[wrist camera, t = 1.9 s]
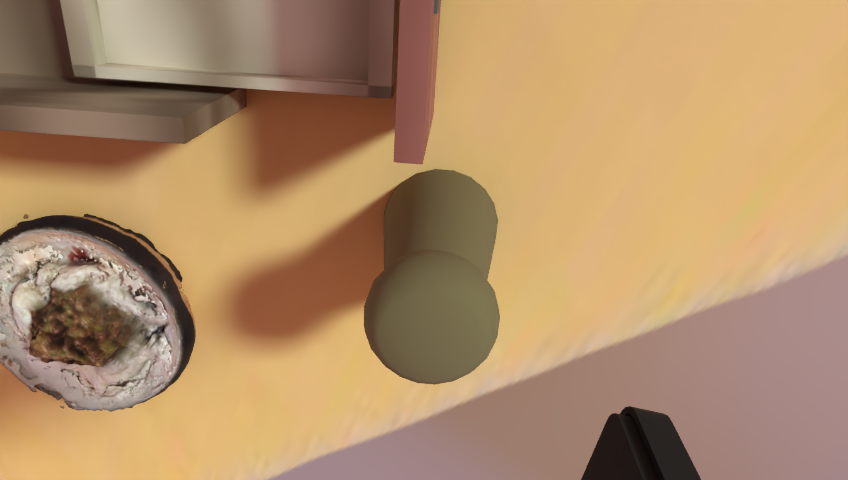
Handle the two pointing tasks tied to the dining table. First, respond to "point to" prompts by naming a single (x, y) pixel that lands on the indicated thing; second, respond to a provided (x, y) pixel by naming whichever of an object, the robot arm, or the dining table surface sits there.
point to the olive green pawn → (435, 279)
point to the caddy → (92, 88)
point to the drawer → (270, 49)
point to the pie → (91, 312)
